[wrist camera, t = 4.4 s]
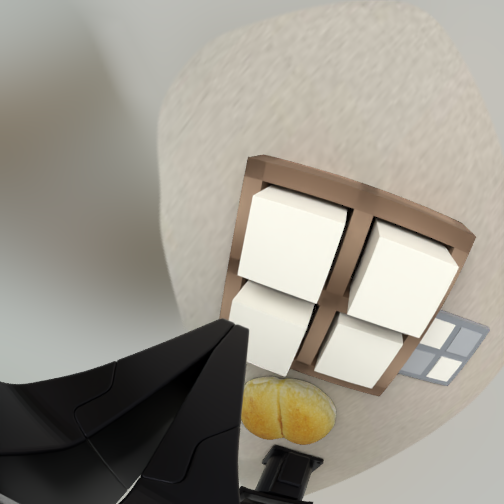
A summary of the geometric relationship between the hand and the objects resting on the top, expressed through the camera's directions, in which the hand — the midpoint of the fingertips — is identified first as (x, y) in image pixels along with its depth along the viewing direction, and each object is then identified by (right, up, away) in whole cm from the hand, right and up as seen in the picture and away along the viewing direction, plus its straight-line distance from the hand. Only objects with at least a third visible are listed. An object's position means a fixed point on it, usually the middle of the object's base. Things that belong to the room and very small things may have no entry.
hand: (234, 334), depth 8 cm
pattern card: (+14, -5, +8) cm, 17 cm away
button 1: (+8, -3, +10) cm, 13 cm away
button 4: (+3, +3, +8) cm, 9 cm away
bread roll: (+4, -12, +16) cm, 20 cm away
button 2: (+8, +2, +6) cm, 11 cm away
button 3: (+2, -2, +10) cm, 11 cm away
